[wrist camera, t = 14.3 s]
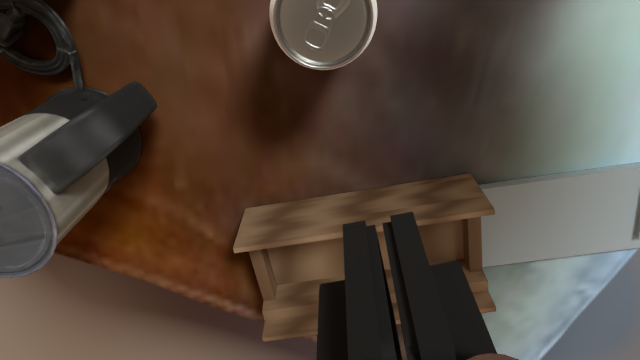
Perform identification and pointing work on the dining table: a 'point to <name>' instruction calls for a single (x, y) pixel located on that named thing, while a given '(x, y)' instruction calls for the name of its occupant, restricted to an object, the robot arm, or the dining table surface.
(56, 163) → the milk frother
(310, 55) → the can
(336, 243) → the walnut box
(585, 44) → the dining table surface
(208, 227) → the dining table surface
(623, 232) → the cover plate
